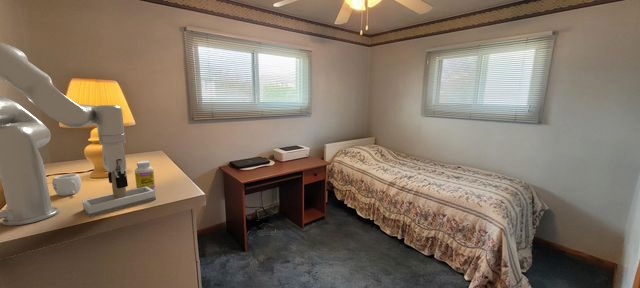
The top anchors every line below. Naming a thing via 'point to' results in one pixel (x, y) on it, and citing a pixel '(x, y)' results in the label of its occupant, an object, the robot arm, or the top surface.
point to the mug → (66, 184)
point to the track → (117, 201)
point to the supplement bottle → (144, 175)
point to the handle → (117, 191)
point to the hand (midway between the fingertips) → (118, 184)
